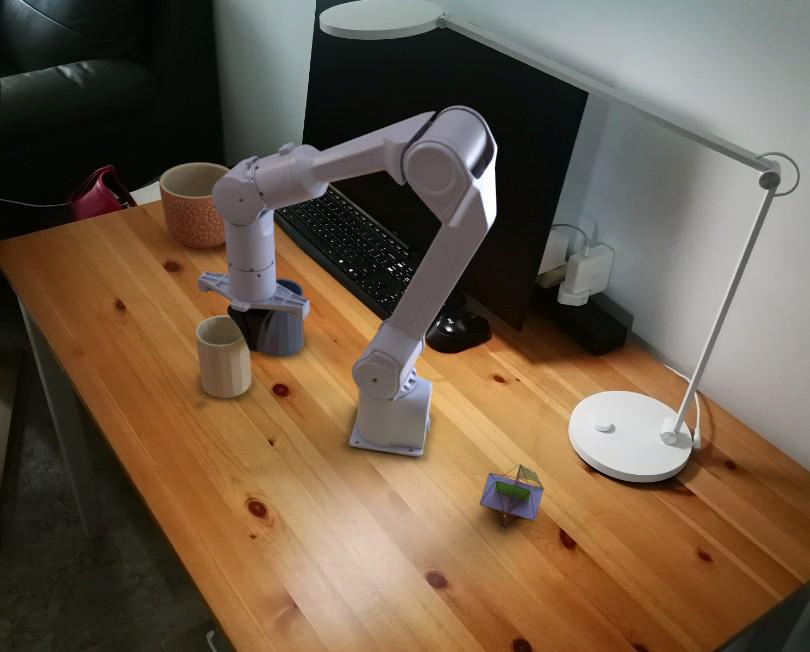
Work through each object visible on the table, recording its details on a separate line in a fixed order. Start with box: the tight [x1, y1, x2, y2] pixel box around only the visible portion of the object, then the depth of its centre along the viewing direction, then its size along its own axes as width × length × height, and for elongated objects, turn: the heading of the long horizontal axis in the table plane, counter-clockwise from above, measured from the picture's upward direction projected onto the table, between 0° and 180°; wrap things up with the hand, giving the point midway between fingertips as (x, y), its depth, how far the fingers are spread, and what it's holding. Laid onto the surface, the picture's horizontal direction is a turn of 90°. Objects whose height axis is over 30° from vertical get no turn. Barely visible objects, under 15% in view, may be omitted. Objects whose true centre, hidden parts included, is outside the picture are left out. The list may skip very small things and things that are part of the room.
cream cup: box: [194, 314, 252, 399], centre depth 114 cm, size 7×7×9 cm
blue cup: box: [260, 278, 305, 358], centre depth 122 cm, size 7×7×9 cm
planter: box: [158, 162, 231, 250], centre depth 141 cm, size 12×12×11 cm
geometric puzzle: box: [478, 463, 545, 529], centre depth 100 cm, size 7×7×8 cm
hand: (256, 346), depth 111 cm, fingers closed
